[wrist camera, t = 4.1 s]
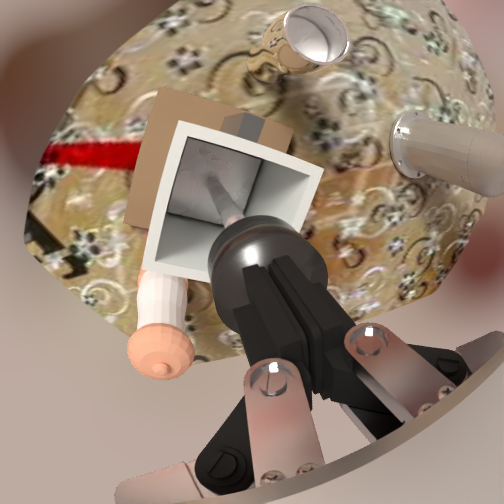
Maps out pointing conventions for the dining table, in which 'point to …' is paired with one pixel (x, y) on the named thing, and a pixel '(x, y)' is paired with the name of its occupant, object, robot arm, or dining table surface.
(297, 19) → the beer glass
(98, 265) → the dining table surface
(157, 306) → the salt shaker
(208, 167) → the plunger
